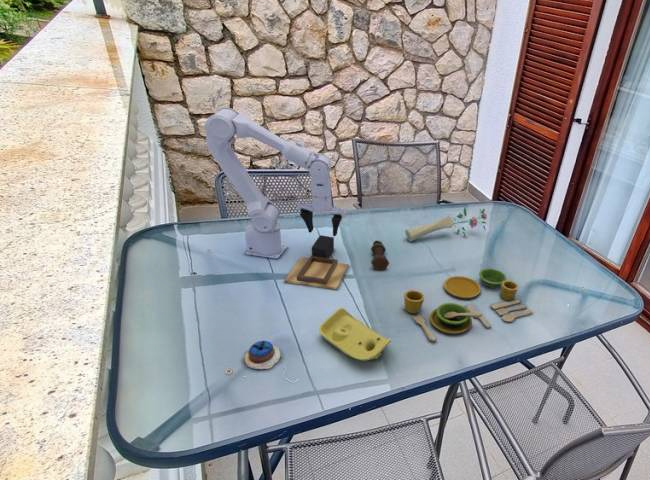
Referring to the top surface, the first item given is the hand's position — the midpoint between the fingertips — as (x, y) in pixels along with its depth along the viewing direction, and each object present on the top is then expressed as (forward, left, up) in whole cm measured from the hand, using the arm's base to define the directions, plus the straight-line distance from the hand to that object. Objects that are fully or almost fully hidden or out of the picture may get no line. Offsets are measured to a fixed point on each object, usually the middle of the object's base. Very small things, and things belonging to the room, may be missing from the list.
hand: (323, 233), depth 139 cm
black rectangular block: (0, 0, -9) cm, 9 cm away
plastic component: (+21, -43, -9) cm, 49 cm away
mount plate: (+2, -12, -9) cm, 15 cm away
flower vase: (+40, +29, -9) cm, 50 cm away
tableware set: (+49, -17, -9) cm, 53 cm away
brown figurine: (+18, +3, -9) cm, 20 cm away
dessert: (+1, -51, -9) cm, 52 cm away
